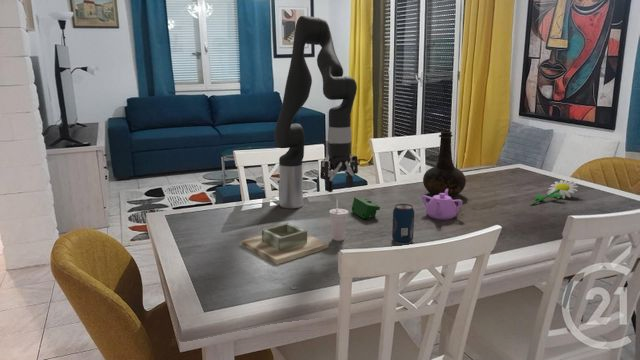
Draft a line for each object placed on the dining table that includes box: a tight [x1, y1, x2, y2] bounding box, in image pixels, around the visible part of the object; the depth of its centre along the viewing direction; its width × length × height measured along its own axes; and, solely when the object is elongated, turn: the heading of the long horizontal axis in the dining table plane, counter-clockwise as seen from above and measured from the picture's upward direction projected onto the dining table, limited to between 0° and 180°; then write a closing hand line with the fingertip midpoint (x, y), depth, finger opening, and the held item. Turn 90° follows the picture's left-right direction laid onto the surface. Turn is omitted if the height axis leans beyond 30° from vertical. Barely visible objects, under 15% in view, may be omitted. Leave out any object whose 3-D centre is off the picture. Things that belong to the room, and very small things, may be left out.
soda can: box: [391, 203, 415, 245], centre depth 167 cm, size 7×7×12 cm
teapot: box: [421, 189, 463, 221], centre depth 192 cm, size 12×14×9 cm
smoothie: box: [328, 198, 349, 242], centre depth 168 cm, size 6×6×14 cm
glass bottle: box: [422, 130, 467, 198], centre depth 217 cm, size 18×18×28 cm
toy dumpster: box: [351, 197, 381, 220], centre depth 194 cm, size 12×6×9 cm, turn 17°
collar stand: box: [240, 222, 329, 265], centre depth 163 cm, size 20×20×6 cm
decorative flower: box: [529, 179, 579, 206], centre depth 214 cm, size 13×5×30 cm
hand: (339, 189), depth 166 cm, fingers open, 8 cm apart
